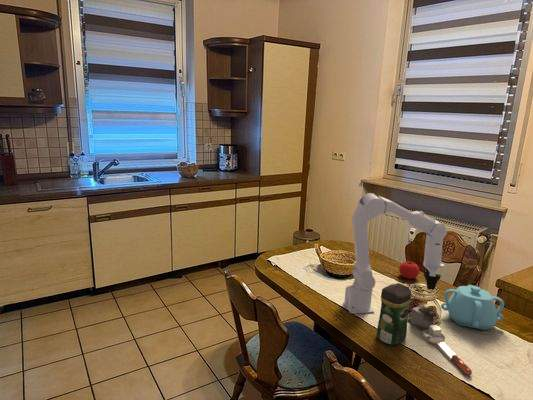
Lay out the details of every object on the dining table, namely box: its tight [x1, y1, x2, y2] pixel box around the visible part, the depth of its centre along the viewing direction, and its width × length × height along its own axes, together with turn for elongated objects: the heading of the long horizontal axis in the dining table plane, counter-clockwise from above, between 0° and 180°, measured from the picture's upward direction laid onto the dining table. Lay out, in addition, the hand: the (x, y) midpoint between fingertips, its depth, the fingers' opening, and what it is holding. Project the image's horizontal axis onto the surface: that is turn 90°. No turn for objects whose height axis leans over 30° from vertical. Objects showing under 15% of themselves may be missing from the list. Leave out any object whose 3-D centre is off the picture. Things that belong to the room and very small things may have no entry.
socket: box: [409, 305, 435, 332], centre depth 129 cm, size 5×5×6 cm
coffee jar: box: [376, 282, 412, 346], centre depth 119 cm, size 10×8×19 cm
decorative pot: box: [440, 284, 505, 331], centre depth 132 cm, size 16×16×14 cm
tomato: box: [398, 260, 420, 280], centre depth 168 cm, size 9×9×8 cm
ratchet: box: [422, 324, 473, 376], centre depth 114 cm, size 21×6×4 cm, turn 8°
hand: (430, 286), depth 138 cm, fingers open, 7 cm apart
